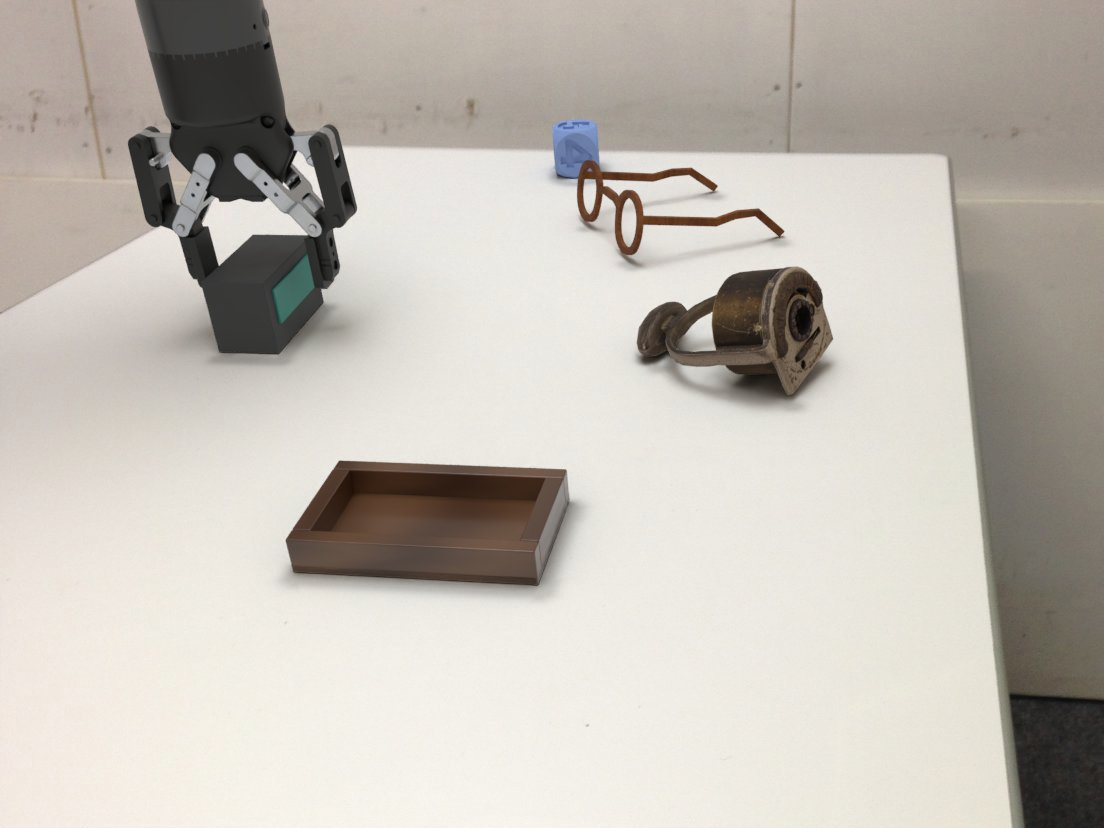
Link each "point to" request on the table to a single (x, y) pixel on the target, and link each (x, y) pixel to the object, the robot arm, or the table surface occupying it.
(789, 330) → the antique brass mechanism
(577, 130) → the decorative dice
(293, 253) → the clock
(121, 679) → the table surface
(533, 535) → the tray
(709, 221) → the glasses
